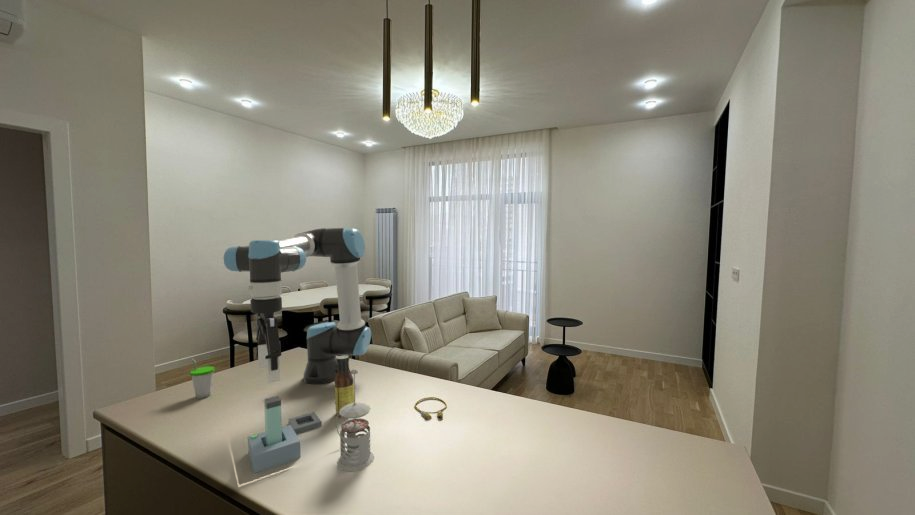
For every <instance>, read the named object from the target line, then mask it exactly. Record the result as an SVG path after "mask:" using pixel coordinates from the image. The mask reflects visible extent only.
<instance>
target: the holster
mask: <svg viewBox="0 0 915 515" xmlns="http://www.w3.org/2000/svg"><path fill="white" fill-rule="evenodd" d="M287 420H288V421H287V422H288V425H291V426H292V428H293V429H294V431H295V433H296V435H297V434H301V433H304V432H308V431H310V430H314V429H317V428H321V427H322V420H321V419H320V417H319V415H317V413H316V412H315V411H312V412H309V413H305V414H302V415H299V416H293V417H290V418H288V419H287Z"/></svg>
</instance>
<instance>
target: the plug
mask: <svg viewBox="0 0 915 515" xmlns="http://www.w3.org/2000/svg"><path fill="white" fill-rule="evenodd" d="M263 402H264V405H263V406H264V407H263V408H264V432H265V442H266V446H269V445H272V444H276V443H279V442H282V427H283V426H282V423H283V422H282V420H283V419H282V400H281V398H280V395H275V396H270V397H267V398H264V400H263Z"/></svg>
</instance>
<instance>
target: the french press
mask: <svg viewBox="0 0 915 515" xmlns="http://www.w3.org/2000/svg"><path fill="white" fill-rule="evenodd" d="M350 372H351V374H352V375H353V380H354V403H350V404H348V405H345V406H344V407H343V408H341V409H340V411H339V414H340V415H341V417H340V426H341V429H340V431H339V429H338V421H337V420H338V418H339V417H338V416H339V414H338V415H336V417H335V428H336V432H337V434H338V437H339V438H340V443H339V444H340V446H339V447H340V456H339V457H338V459H337V461H336V465H337V468H338V469H340V470H341V471H345V472H358V471H360V470H361V471H362V470H364V469H366V468H367V467H369V466H370V465H372V463H373V462H374V459H375V456H374V453H373V452H371V427H370V425H369V424H370V423H369V421H368V420H367V419H366V418H365V419H364V418H363V417H364V416H367V415H368V414H369V413H370V410H371V407H370V405H368V404H366V403H364V402H360V401H359V402H356V374H358V373H359V370H358V369H357V368H352V369H350ZM343 418H345V419H348V420H346V421H345V422H343V421H342V420H343ZM362 432H364V433H362Z"/></svg>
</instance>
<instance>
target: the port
mask: <svg viewBox="0 0 915 515" xmlns="http://www.w3.org/2000/svg"><path fill="white" fill-rule="evenodd" d="M247 446H248V447H247V449H248V450H247V452H248V457H249V460H250V463H251V466H252V470H253V472H254V474H255V473H260V472H262V471H265V470H268V469H270V468H274V467H277V466H280V465H282V464H283V465H284V464H286V463H288V462H292V461H294V460H297V459H300V458H301V440H300V438H299V437H298V435H297V434H296V433H295V431H294V429H293V428H292V426H291V425H289V424H288V425H285V426H282V442H279V443H276V444H272V445H269V446H266V442H265V431H264V432H260V433H257V434H252V435H250V436H248V437H247Z"/></svg>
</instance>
